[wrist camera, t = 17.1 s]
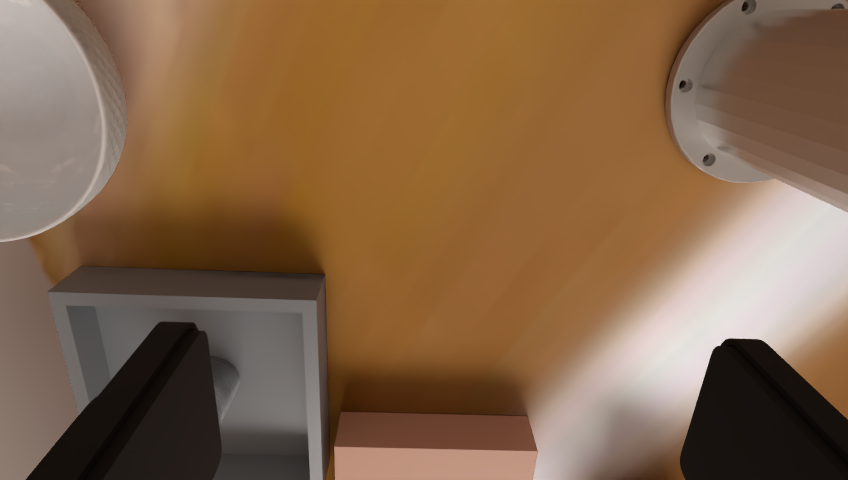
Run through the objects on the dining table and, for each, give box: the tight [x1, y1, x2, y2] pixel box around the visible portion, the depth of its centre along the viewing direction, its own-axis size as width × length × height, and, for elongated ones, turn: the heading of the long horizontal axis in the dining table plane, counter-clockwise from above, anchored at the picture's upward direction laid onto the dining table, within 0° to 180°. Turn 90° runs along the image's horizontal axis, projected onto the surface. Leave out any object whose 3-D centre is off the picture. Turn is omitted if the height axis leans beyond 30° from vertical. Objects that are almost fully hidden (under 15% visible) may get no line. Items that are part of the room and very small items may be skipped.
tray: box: [47, 266, 330, 480], centre depth 42 cm, size 18×18×4 cm
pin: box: [210, 356, 240, 427], centre depth 38 cm, size 4×4×11 cm
